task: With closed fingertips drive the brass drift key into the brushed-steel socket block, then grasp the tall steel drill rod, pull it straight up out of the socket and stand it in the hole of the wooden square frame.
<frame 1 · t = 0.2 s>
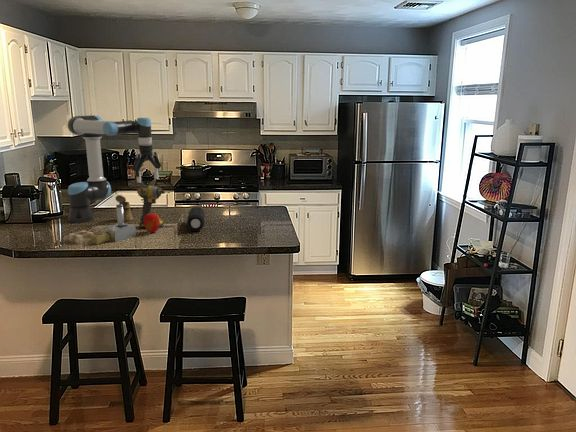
hand: (148, 180, 283), 28 cm above the countertop, fingers open, 13 cm apart
drill rod: (120, 220, 267), in the socket block
apple: (152, 232, 277), on the countertop
portable speaker: (196, 227, 290), on the countertop
cordless drill: (155, 227, 288), on the countertop
wooden square frame: (82, 240, 261), on the countertop
socket block: (122, 236, 269), on the countertop
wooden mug: (124, 221, 303), on the countertop
drift key: (102, 237, 258), point 2 cm above the countertop, slide at 0.0 cm
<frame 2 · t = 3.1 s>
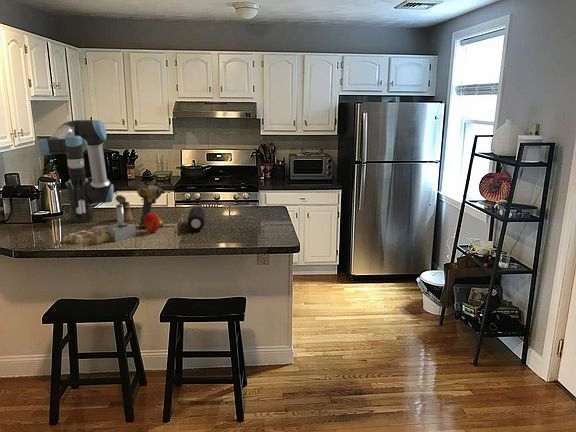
hand: (81, 212, 245), 18 cm above the countertop, fingers closed
nothing on the countertop moved.
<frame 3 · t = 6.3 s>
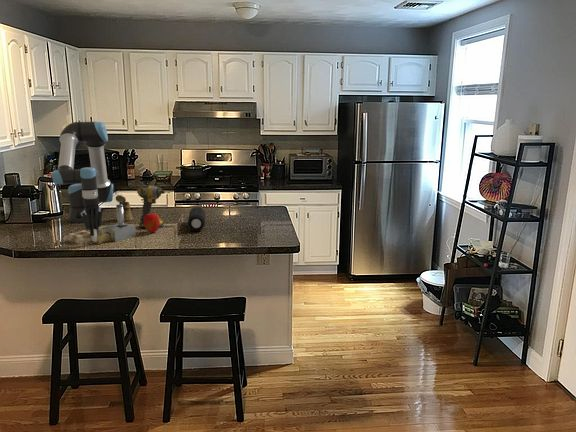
hand: (94, 240, 254), 2 cm above the countertop, fingers closed
drift key: (104, 237, 259), point 2 cm above the countertop, slide at 1.1 cm, touching gripper
everything else where it was.
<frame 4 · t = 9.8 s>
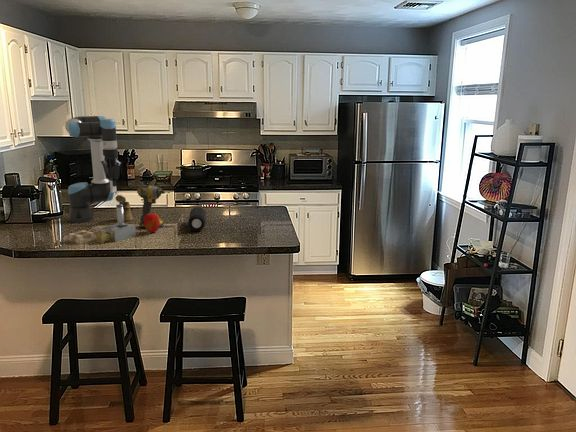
hand: (113, 191, 260), 26 cm above the countertop, fingers closed
drift key: (107, 236, 260), point 2 cm above the countertop, slide at 2.9 cm
everything else where it was.
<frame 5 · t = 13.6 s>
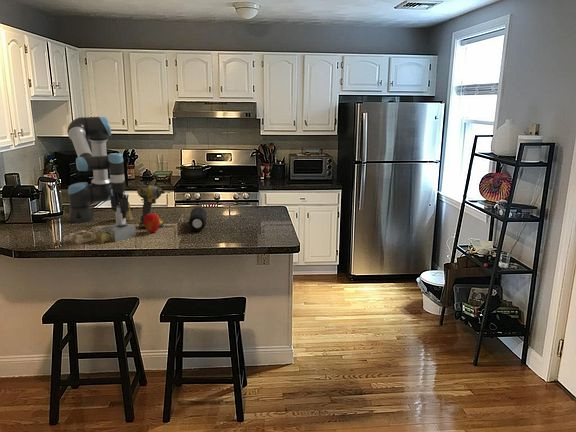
hand: (121, 223, 267), 8 cm above the countertop, fingers closed on drill rod, 3 cm apart
drill rod: (120, 220, 267), in the socket block, touching gripper
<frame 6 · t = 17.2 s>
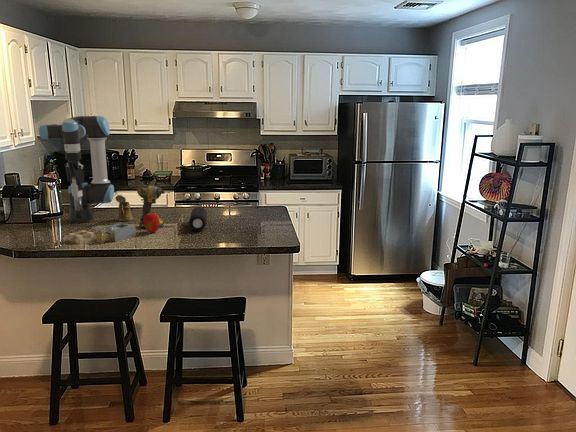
hand: (77, 195, 255), 25 cm above the countertop, fingers closed on drill rod, 3 cm apart
drill rod: (77, 193, 255), point 26 cm above the countertop, touching gripper
when the fingers open (9 cm above the countertop, at t = 20.8 s): drill rod drops 2 cm, resting in wooden square frame.
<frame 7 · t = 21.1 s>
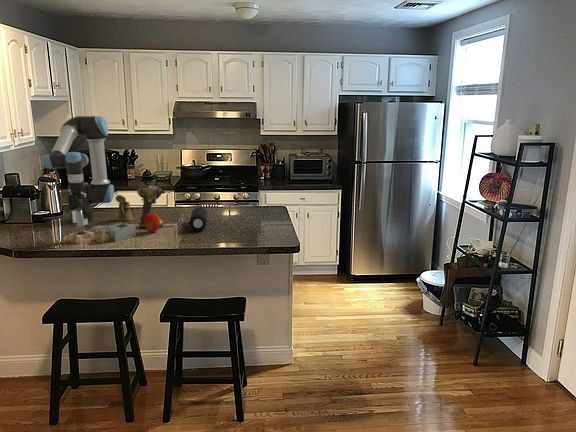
hand: (80, 223, 259), 10 cm above the countertop, fingers open, 8 cm apart
drill rod: (80, 224, 259), in the wooden square frame
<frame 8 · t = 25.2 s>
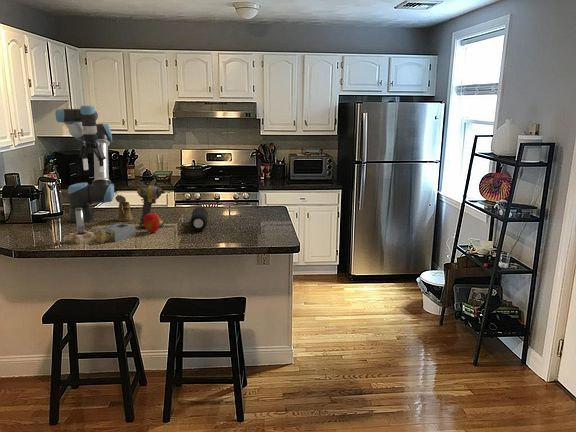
hand: (93, 170, 275), 35 cm above the countertop, fingers open, 13 cm apart
at the end: drift key slide at 2.9 cm; drill rod 0.0 cm off-centre on the wooden square frame, point 9.0 cm above the wooden square frame's base; drill rod tilted 0° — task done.
